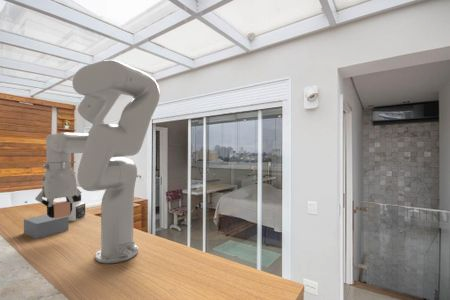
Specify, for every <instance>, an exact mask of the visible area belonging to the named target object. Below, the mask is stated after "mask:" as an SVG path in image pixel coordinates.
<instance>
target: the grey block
mask: <svg viewBox="0 0 450 300" xmlns="http://www.w3.org/2000/svg"><path fill="white" fill-rule="evenodd" d="M66 230H67V231H69V221H68V216H66V217H61V218H57V219H54V218H51V217H49V216H48V215H47V213H45V214H42V215H37V216H32V217H27V218H23V234H24V235H26V236H29V237H30V238H33V239H35V240H39V239H43V238H46V237H49V235H50V236H53V235H56V234H55V233H57V234H59V233H58V232H60V233H62V232H61V231H64V232H66ZM52 234H53V235H52ZM45 236H46V237H45ZM42 237H43V238H42Z"/></svg>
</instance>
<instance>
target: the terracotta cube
mask: <svg viewBox="0 0 450 300" xmlns="http://www.w3.org/2000/svg"><path fill="white" fill-rule="evenodd" d="M52 206H53V207H54V217H53V218H54V219H57V218H61V217H66V216H70V202H67V201H66V200H62V201H61V200H60V201H57V202H53V204H52Z"/></svg>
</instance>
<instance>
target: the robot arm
mask: <svg viewBox="0 0 450 300" xmlns="http://www.w3.org/2000/svg"><path fill="white" fill-rule="evenodd" d="M72 88H73V90H74V91H75V92H76V93H78V94H79V95H82V96H84V97H83V98H82V100H81V102H80V103H79V104H78V107H77V113H78V115H80V117H82V118H83V119H84V120H85V121H87V122H89V123H90V124H92V126H91V128H90V129H89V130H88V132H87V133H84V132H83V133H82V132H65V131H64V132H63V131H62V132H59V133H52V134H51V133H50V134H48V135H47V136H46V138H45V139H46V140H45V146H46V152H45V153H46V162H45V164H42V165H41V169H45V170H46V171H45V170H44V173H43V176H42V177H43V178H42V186H41V191H40V192H39V193H38V194H37V195H36V196H35V199H34V200H35V201H37V202H38V203H41V204H43V205H44V206H45V207H46V214H47V215H48V216H49V217H51V218H53V217H54V207H53V206H52V204H53V203H54V200H55V199H60V198H61V199H62V198H65V201H66V200H67V202H70V214H71V211H72V203H73V202H74V200H75V199H76V198H77V197H78V196H79V195H80V194H81V195H82V191H81V190H80V189H79V188H78V186H77V184H78V185H79V187H80V188H81V189H83V190H84V191H86V192H96V191H97V192H98V191H103V190H105V191H104V193H103V196H102V197H101V208H100V209H101V210H100V211H101V212H100V216H101V217H100V223H101V224H100V226H101V227H100V248H99V249H98V250H97V251H96V252H95V255H94V256H95V261H97V263H98V262H99V263H100V264H101V263H102V264H115V263H121V262H125V261H127V260H131V259H132V258H134V257H135V256H137V254H138V252H139V246H138V245H136V244H135V240H134V206H135V205H134V204H135V203H134V202H135V201H134V200H135V199H134V198H135V197H134V196H135V187H136V182H137V177H138V168H137V165H136V164H135V162H134V161H133V160H132V159H130V158H127V157H131V156H135V155H137V154H138V153H140V151H141V148H142V146H143V143H144V141H145V138H146V135H147V132H148V130H149V125H150V122H151V120H152V117H153V115H154V112H155V111H156V108H157V107H158V104H159V101H160V96H161V91H160V87H159V84H158V83H157V81H156V80H155V79H154V77H152V76H151V75H149V74H148V73H146V72H145V71H142V70H140V69H137V68H136V67H133V66H130V65H128V64H125V63H123V62H121V61H118V60H114V59H106V60H100V61H98V62H94V63H91V64H88V65H84V66H83V67H81V68H80V69H78V70H77V71H76V72H75V74H74V75H73V77H72ZM121 94H122V95H125V96H129V97H132V98H133V99H132V100H130V101H129V102H128V103H126V105H125V106H124V108H123V109H122V112H121V115H120V119H119V121H118V122H117V124H113V123H112V124H110V123H105V122H104V119H105V118H106V116H107V115H108V114H109V112H110V111H111V109H112V108H113V107H114V105H115V103H116V102H117V100H118V99H119V98H120V96H121ZM72 154H82V155H81V158H80V161H79V164H78V168H77V174H76V173H75V170H74V169H72ZM76 175H77V176H76ZM76 177H77V178H76ZM77 182H78V183H77ZM45 199H46V200H45Z"/></svg>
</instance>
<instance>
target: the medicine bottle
mask: <svg viewBox="0 0 450 300" xmlns="http://www.w3.org/2000/svg"><path fill="white" fill-rule="evenodd" d="M65 201H67V200H66V199H65ZM85 217H86V202H82V193H81V194H80V195H79V196H78V197H77V198H76V199H75V200H74V202H73V203H72V211H71V214H70V216H68V222H77V221H79V220H81V219H83V218H85Z"/></svg>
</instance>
